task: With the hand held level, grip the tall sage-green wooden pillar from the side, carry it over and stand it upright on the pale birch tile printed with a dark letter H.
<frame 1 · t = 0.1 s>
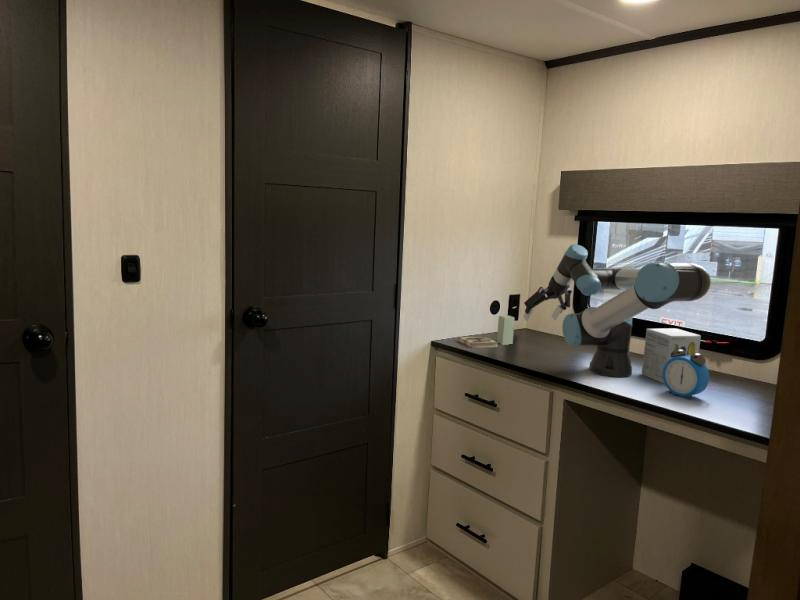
hand: (539, 318, 246), 15 cm above the table, tool tilted 35°, fingers open, 13 cm apart
supplement box: (667, 379, 221), on the table
alarm clock: (683, 395, 201), on the table
sage pillar: (504, 343, 267), on the table
letter tile: (478, 344, 263), on the table
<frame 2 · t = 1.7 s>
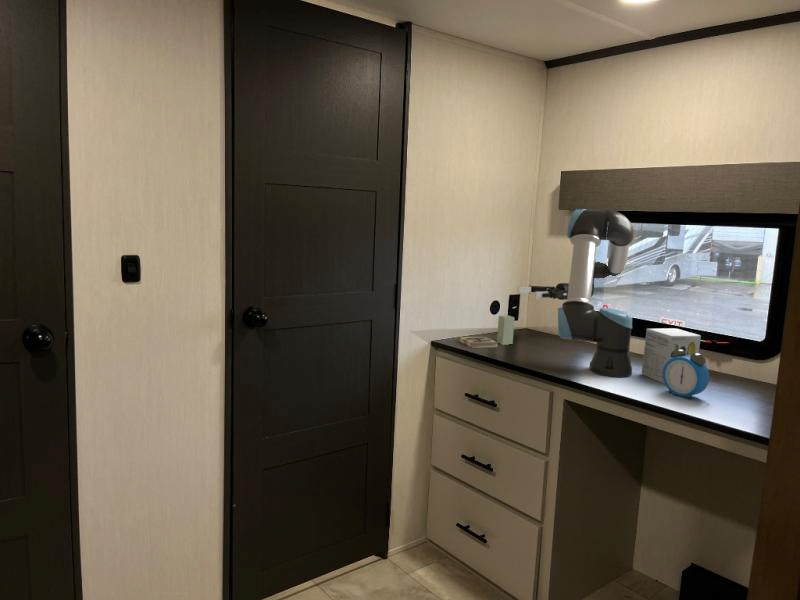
hand: (526, 292, 266), 23 cm above the table, tool horizontal, fingers open, 13 cm apart
nothing on the table moved.
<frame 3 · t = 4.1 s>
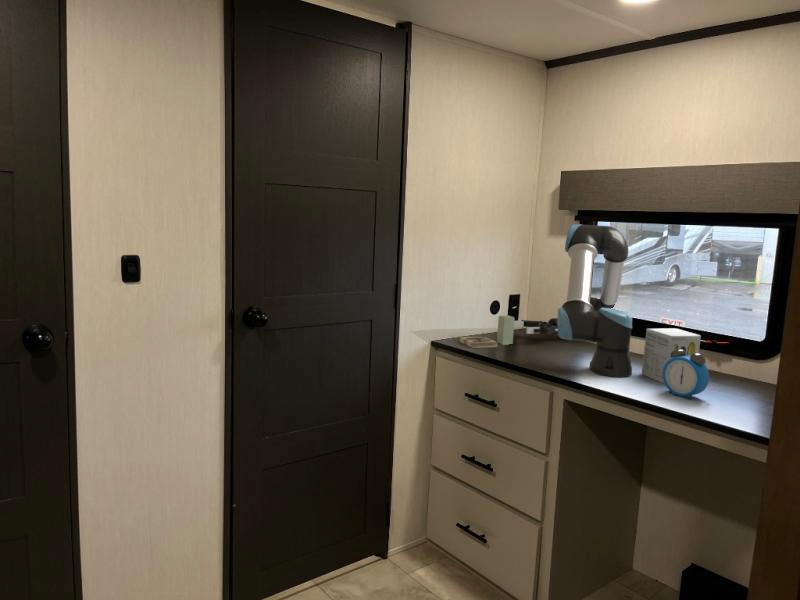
hand: (518, 327, 269), 7 cm above the table, tool horizontal, fingers open, 13 cm apart
nothing on the table moved.
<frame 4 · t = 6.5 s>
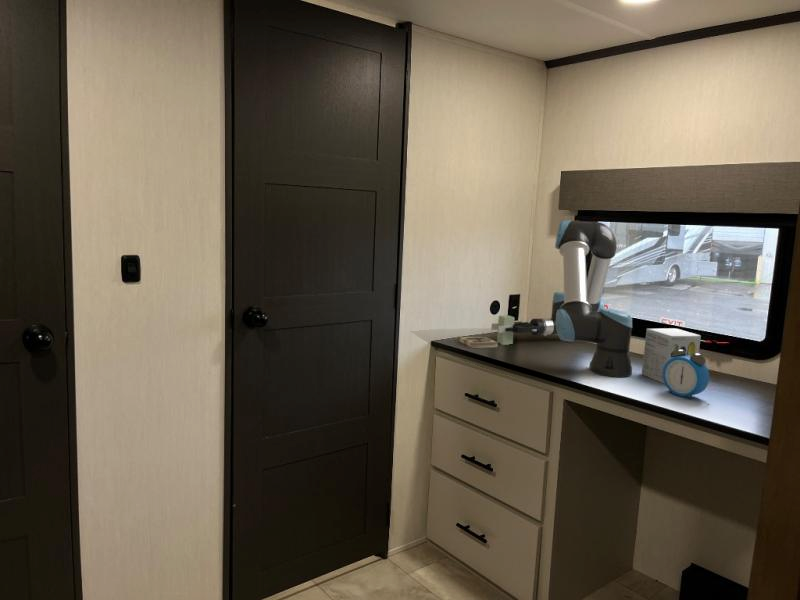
hand: (495, 328, 264), 7 cm above the table, tool horizontal, fingers closed on sage pillar, 5 cm apart
sage pillar: (504, 343, 267), on the table, touching gripper
everything else where it was.
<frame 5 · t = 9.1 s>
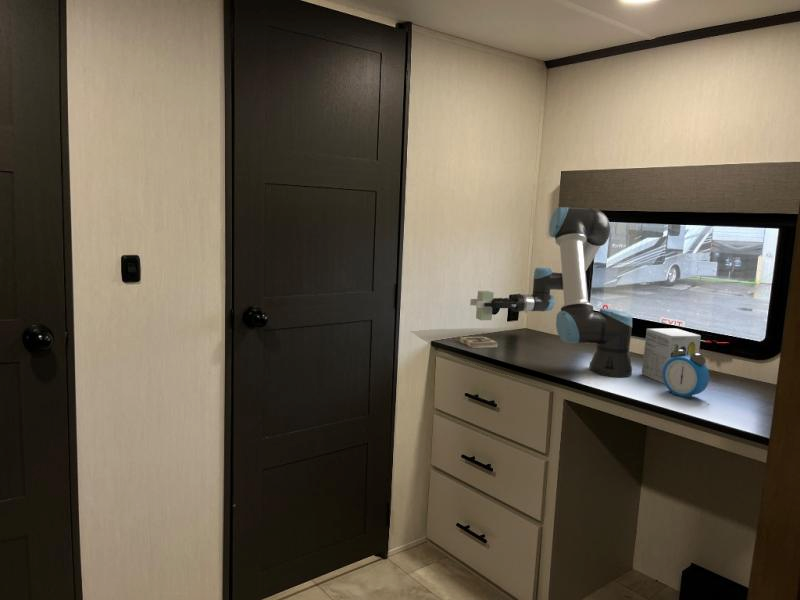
hand: (473, 303, 259), 18 cm above the table, tool horizontal, fingers closed on sage pillar, 5 cm apart
sage pillar: (483, 319, 262), point 11 cm above the table, touching gripper
everything else where it was.
when the fingers open (10 cm above the table, at t = 11.5 s): sage pillar stays where it is, resting on letter tile.
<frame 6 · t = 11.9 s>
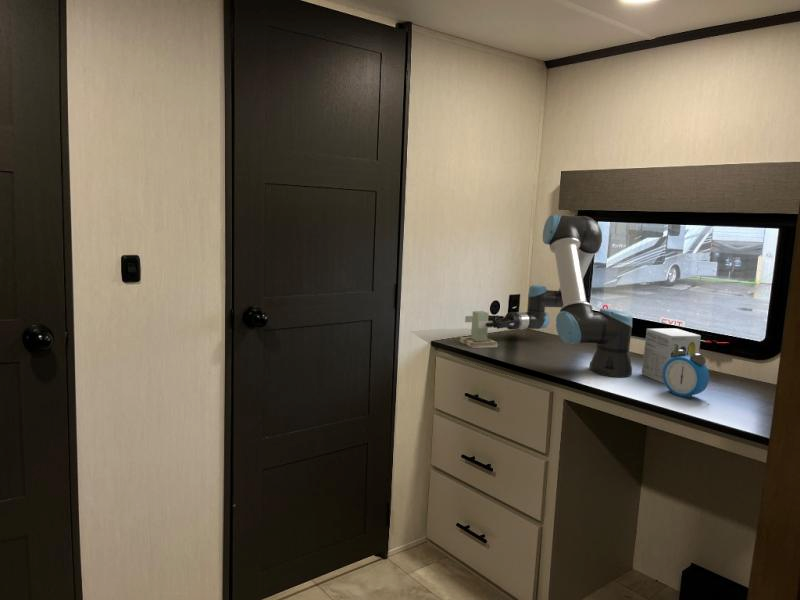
hand: (471, 321, 260), 10 cm above the table, tool horizontal, fingers open, 11 cm apart
sage pillar: (478, 339, 262), point 2 cm above the table, touching letter tile
everything else where it was.
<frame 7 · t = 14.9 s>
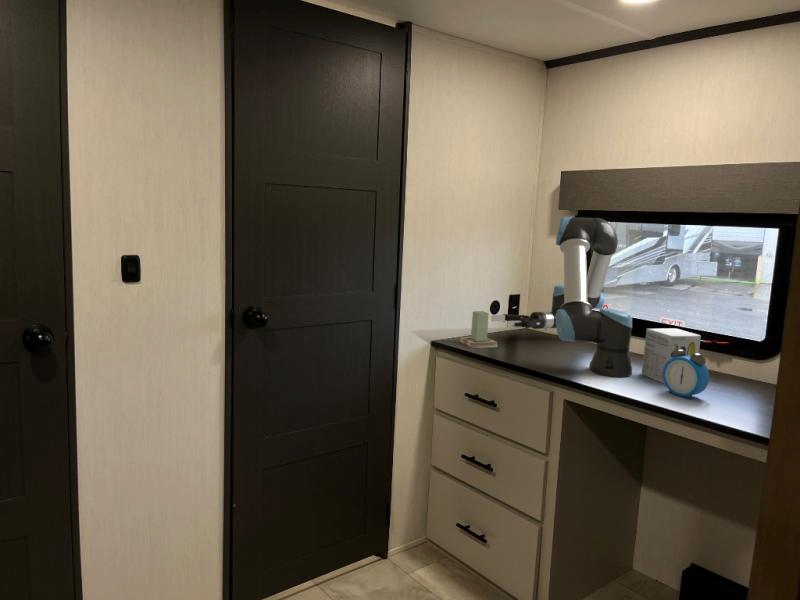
hand: (499, 321, 264), 10 cm above the table, tool horizontal, fingers open, 13 cm apart
nothing on the table moved.
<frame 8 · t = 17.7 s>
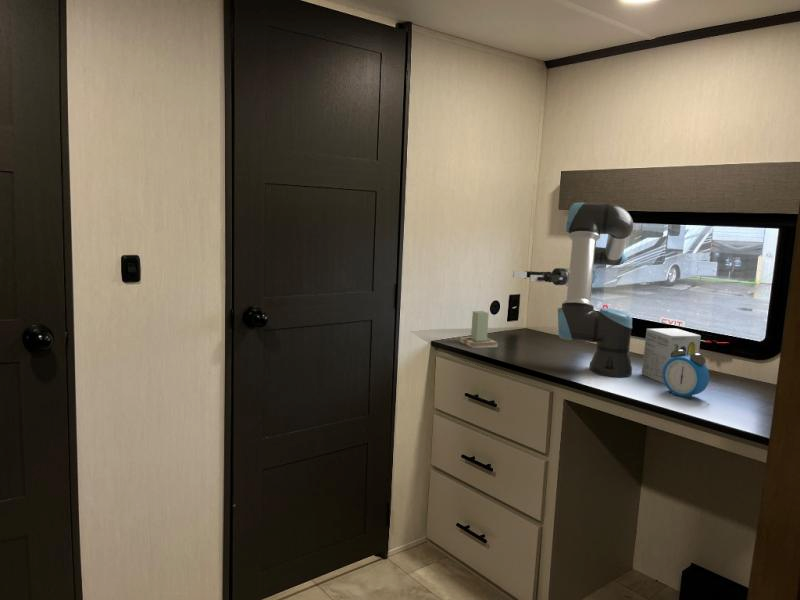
hand: (521, 276, 263), 30 cm above the table, tool horizontal, fingers open, 13 cm apart
nothing on the table moved.
at the end: sage pillar 0.0 cm off-centre on the letter tile, point 2.1 cm above the letter tile's base; sage pillar tilted 0°; the gripper is holding nothing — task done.
